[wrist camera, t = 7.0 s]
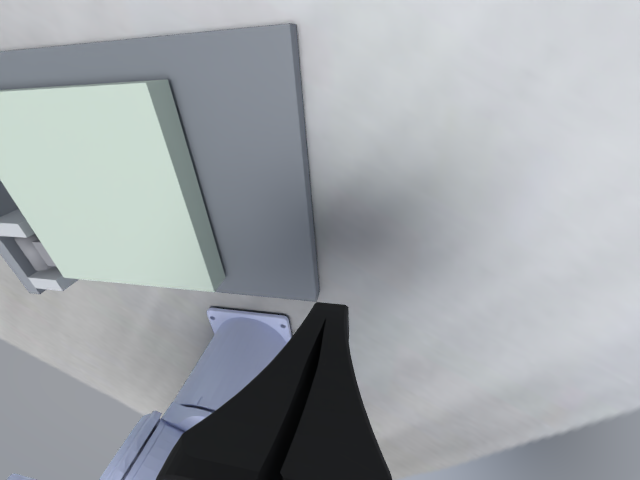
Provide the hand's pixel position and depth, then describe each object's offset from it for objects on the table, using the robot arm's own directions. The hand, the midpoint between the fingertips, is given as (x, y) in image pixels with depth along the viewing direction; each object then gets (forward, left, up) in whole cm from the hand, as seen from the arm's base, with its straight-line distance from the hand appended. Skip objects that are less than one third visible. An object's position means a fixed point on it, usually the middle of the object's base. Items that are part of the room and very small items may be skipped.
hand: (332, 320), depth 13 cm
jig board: (+2, +16, -9) cm, 19 cm away
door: (+2, +19, -8) cm, 21 cm away
